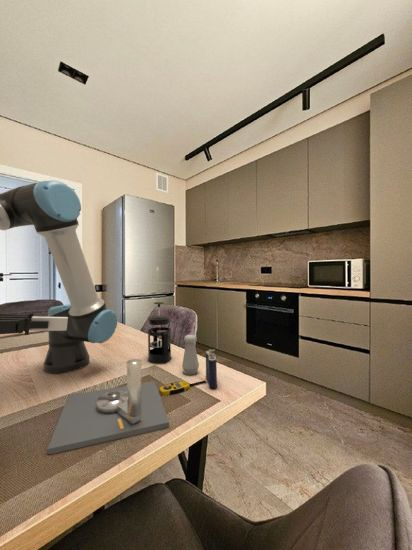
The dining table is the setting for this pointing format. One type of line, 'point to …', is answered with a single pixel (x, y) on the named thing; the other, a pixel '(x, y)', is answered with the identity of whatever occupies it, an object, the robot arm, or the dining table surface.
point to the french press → (163, 347)
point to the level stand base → (104, 420)
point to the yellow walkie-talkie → (176, 388)
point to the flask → (211, 369)
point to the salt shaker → (190, 355)
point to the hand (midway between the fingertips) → (66, 323)
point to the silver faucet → (125, 395)
